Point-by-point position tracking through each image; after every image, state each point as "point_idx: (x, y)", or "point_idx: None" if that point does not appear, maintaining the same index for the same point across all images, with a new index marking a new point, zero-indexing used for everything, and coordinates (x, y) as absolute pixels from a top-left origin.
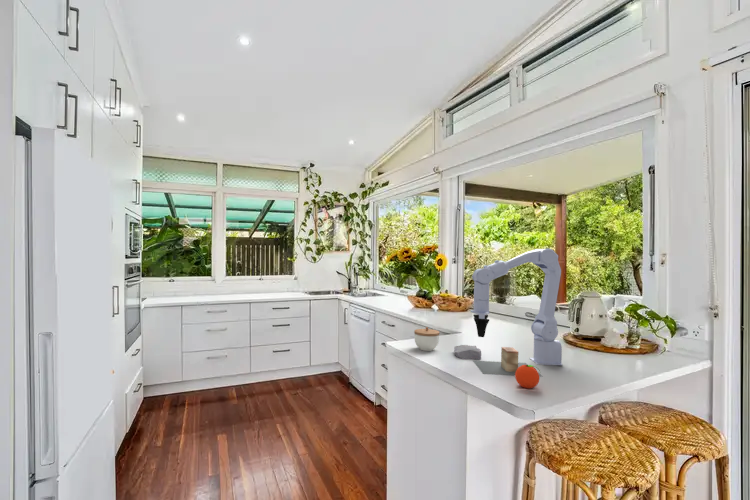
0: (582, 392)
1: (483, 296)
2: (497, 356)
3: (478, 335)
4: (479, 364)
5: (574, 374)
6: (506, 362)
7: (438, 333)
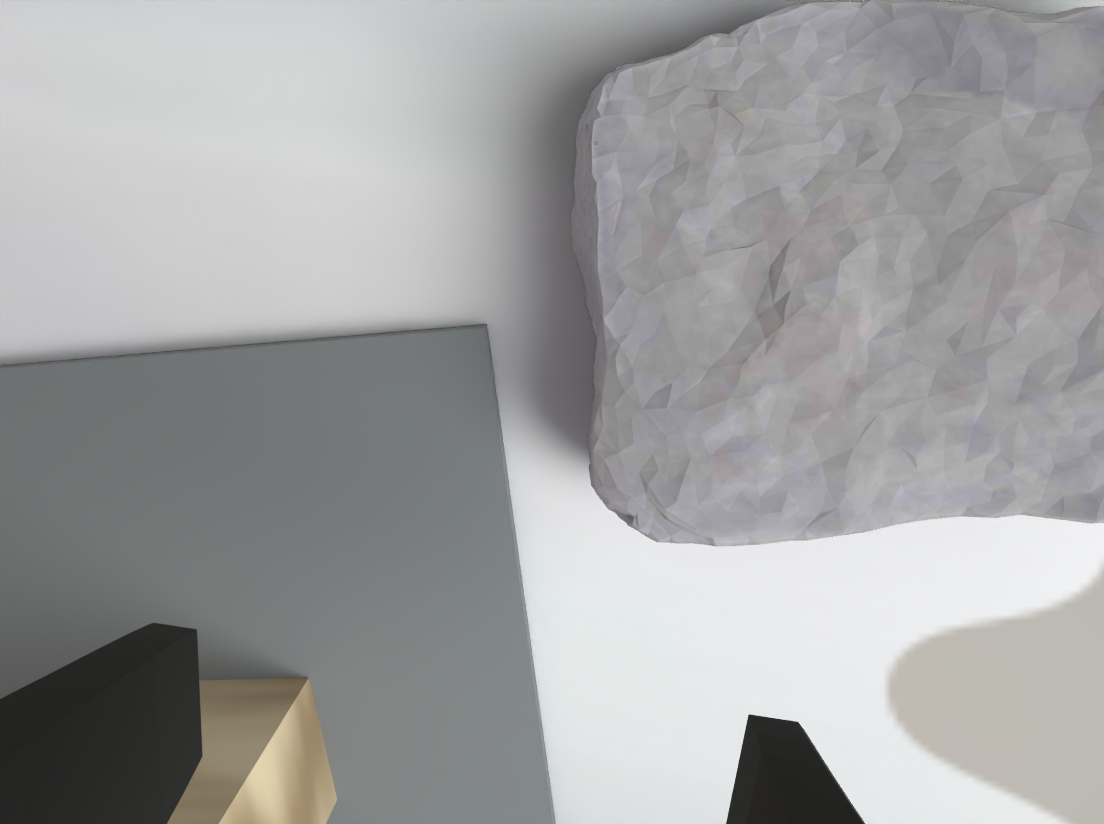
0: None
1: None
2: (898, 758)
3: (119, 645)
4: (290, 404)
5: None
6: None
7: None
